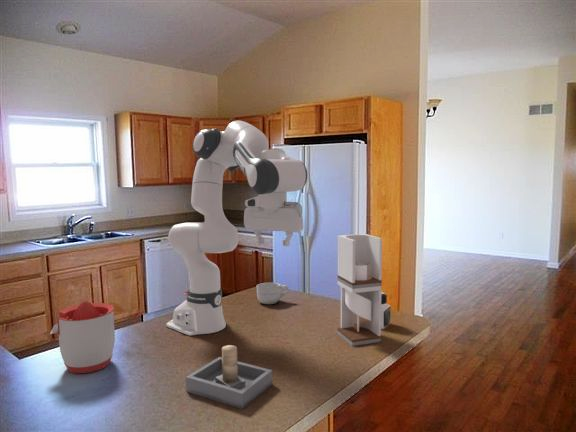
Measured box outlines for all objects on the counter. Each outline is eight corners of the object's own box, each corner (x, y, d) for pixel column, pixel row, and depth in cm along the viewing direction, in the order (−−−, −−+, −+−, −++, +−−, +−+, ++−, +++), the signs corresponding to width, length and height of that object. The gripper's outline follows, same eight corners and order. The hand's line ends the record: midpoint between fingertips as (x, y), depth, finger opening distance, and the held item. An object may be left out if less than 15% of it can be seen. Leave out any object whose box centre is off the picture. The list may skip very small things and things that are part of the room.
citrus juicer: (55, 361, 134) (51, 297, 132) (116, 351, 141) (112, 290, 139) (50, 383, 120) (45, 313, 118) (118, 371, 127) (114, 304, 125)
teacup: (254, 305, 186) (253, 287, 185) (259, 298, 197) (259, 280, 196) (286, 307, 184) (286, 288, 183) (290, 299, 195) (290, 281, 194)
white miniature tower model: (337, 333, 154) (337, 235, 150) (364, 329, 157) (365, 233, 153) (352, 345, 143) (352, 240, 139) (380, 341, 146) (382, 238, 143)
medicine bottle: (383, 329, 157) (384, 297, 156) (365, 326, 161) (365, 294, 160) (390, 323, 163) (391, 292, 162) (372, 320, 167) (372, 289, 166)
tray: (186, 391, 115) (185, 376, 115) (219, 369, 127) (219, 356, 127) (242, 409, 106) (241, 393, 106) (272, 384, 118) (272, 370, 118)
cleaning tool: (215, 382, 118) (214, 346, 117) (231, 376, 121) (230, 341, 120) (229, 392, 112) (228, 355, 111) (245, 386, 115) (244, 349, 114)
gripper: (306, 201, 135) (307, 245, 136) (251, 199, 145) (252, 240, 146) (296, 202, 129) (297, 248, 131) (240, 201, 139) (241, 243, 141)
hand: (273, 244), depth 139 cm, fingers open, 8 cm apart
